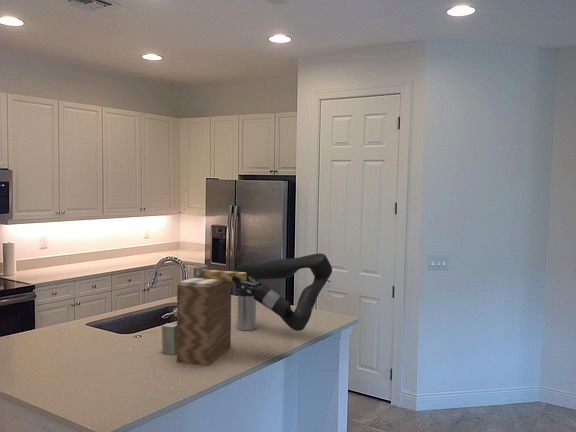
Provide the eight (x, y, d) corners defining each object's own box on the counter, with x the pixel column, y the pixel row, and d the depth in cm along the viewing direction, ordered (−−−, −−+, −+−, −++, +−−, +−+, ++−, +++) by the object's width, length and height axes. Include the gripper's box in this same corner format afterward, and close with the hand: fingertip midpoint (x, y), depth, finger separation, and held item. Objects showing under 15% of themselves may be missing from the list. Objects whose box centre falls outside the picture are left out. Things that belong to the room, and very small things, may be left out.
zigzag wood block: (230, 347, 230) (231, 274, 228) (208, 365, 207) (209, 285, 205) (201, 344, 234) (202, 272, 231) (176, 362, 211) (177, 282, 208)
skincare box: (179, 351, 223) (179, 324, 222) (174, 355, 219) (174, 327, 218) (167, 349, 225) (167, 322, 224) (161, 353, 221) (161, 325, 220)
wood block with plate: (248, 279, 223) (248, 267, 223) (241, 283, 214) (241, 271, 214) (202, 275, 229) (202, 264, 228) (193, 279, 220) (193, 268, 220)
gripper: (276, 286, 223) (246, 265, 226) (266, 293, 209) (234, 271, 212) (267, 300, 224) (238, 279, 227) (257, 308, 210) (225, 286, 213)
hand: (236, 275), depth 220 cm, fingers open, 8 cm apart
